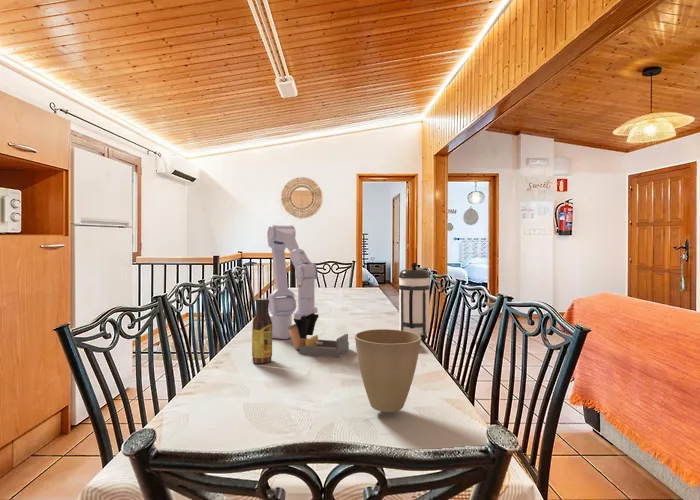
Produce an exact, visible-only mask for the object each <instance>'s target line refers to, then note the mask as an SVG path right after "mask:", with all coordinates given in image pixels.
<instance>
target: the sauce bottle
mask: <svg viewBox="0 0 700 500" xmlns="http://www.w3.org/2000/svg"><path fill="white" fill-rule="evenodd" d="M268 304H269V298H256V299H255V305H256V311H255V315H254V317H253V319H252V328H251V331H252V332H251V357H252V363H253V364H261V365H263V364H266V363H267V364H268V363H270V362H272V356H273V338H272V321H271V318H270V315H269V314H270V313H269V312H270V311H269V308H268Z"/></svg>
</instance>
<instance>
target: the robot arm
mask: <svg viewBox="0 0 700 500" xmlns="http://www.w3.org/2000/svg"><path fill="white" fill-rule="evenodd" d="M296 232H297V231H296V227H295V226H294V225H282V224H281V225H277V224H276V225H275V224H270V225H269V226H268V229H267V231H266V233H267V236H266V237H267V243H268V245H267V246H268V248H271V252H272V253H271V255H272V265H273V266H272V267H273V278H274V290H273V291H272V292H271V293H269V296H268V299H269V304H268V311H269V312H270V313H269V315H270V318H271V321H272V339H279V340H280V339H284V340H287V339H291V335H290V333H289V330H288V328H287V327H289V326H291V325H293V324H292V321H294V324H296V325H297V328H298V331H299V335H300V338H306V337H307V336H314V331H315V326H316V323H317V321H318V319H319V314H318V307H315V304H316V302H315V280H316V279H317V277H318V274H319V272H318V267H317V264H316V263H314V262H312V261H310V260H309V258H308V256H307V254H306V253H305V251H304V249H302V248H300V247H299V244H298V242H297V239H296V235H297V233H296ZM286 249H287V250H288V251H289V253H290V254H289V259H290V261H291V263H292V265H293V267H294V269H295V270H294V276H295V279H296V285H297V289H298V292H297V300H298V303H297V300H296V298H295V293H294V292H293V291H292V290H290V289H289V288H288V275H287V274H288V273H287V262H286V253H285V251H286ZM297 305H298V306H297ZM297 307H298V308H297ZM296 309H298V310H297V311H296V312H295V310H296ZM294 312H295V313H294ZM292 316H293V317H294V318H293V317H292Z"/></svg>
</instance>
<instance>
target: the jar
mask: <svg viewBox="0 0 700 500" xmlns="http://www.w3.org/2000/svg"><path fill="white" fill-rule="evenodd" d="M287 328H288V330H289V333H290V335H291V337H290V339H291V340H292V343H293V346H294V348H295V351H297V350H299V346H300V345H304V346H306V340H307V339H308V338H307V337H306V338H300V335H299V331H298V328H297V325H296V323H294V324H292V325H291V326H289V327H287Z"/></svg>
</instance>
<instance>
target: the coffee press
mask: <svg viewBox="0 0 700 500" xmlns="http://www.w3.org/2000/svg"><path fill="white" fill-rule="evenodd" d="M417 266H418V264H417V263H416V262H412V263H411V267H412V268H405V269H402V270H401V271H400V272H399V274H398V279H399V280H398V281H399V283H398V291H399V292H398V296H399V297H398V298H399V303H398V305H399V310H398V313H399V315H398V317H399V328H398V330H401V331H408V332H412V333H415V334H418V335H419V336H420V337H421V339H422V338H424V339H428V334H429V333H430V291H431V285H430V278H431V275H430V274H429V271H428V270H426V269H423V268H422V269H421V268H417Z"/></svg>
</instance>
